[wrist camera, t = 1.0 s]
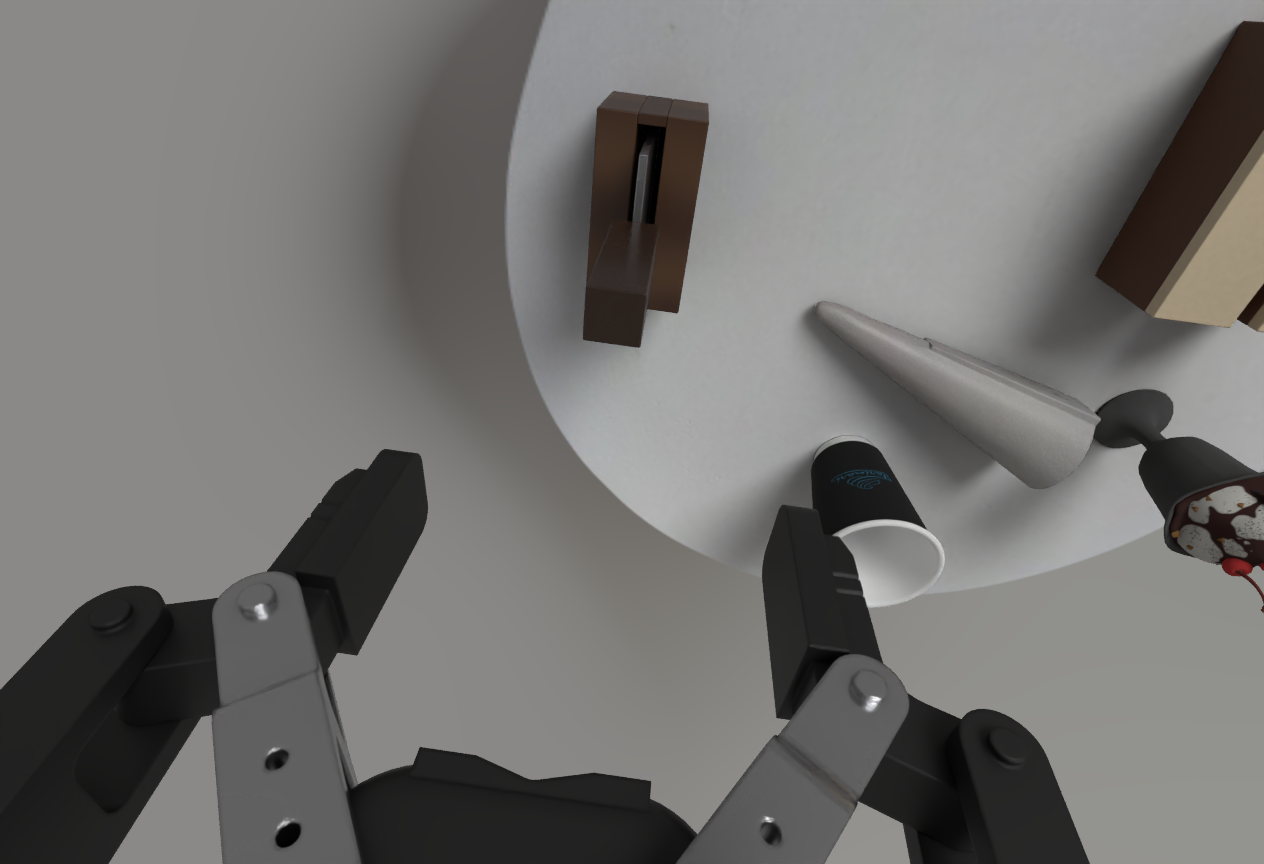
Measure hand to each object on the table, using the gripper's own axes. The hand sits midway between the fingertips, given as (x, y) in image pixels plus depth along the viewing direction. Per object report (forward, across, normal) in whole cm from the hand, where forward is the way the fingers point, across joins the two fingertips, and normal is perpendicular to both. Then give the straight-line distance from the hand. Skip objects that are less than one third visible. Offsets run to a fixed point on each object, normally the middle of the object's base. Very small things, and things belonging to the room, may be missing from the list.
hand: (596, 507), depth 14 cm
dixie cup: (+29, -17, +18) cm, 38 cm away
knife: (+28, +1, 0) cm, 28 cm away
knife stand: (+28, +1, 0) cm, 28 cm away
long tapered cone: (+29, -20, +10) cm, 36 cm away
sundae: (+29, -35, +11) cm, 46 cm away
